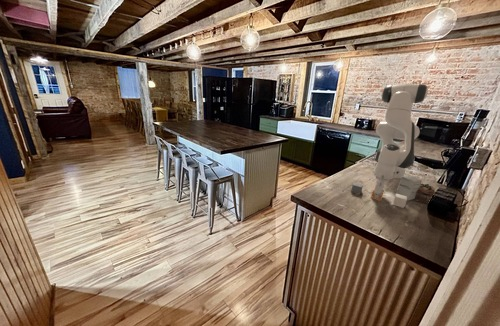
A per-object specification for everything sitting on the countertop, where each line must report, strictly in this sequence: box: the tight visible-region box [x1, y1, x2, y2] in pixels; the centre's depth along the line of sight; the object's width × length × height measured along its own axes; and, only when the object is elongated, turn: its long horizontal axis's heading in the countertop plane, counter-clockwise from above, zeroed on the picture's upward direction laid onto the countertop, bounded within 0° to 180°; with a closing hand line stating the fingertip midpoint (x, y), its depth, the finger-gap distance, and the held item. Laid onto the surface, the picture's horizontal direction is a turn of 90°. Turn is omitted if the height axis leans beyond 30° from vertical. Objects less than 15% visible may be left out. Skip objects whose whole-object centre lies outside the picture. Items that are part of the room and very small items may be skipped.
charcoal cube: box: [350, 181, 364, 196], centre depth 123 cm, size 5×5×5 cm
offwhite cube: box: [392, 193, 408, 209], centre depth 112 cm, size 5×5×5 cm
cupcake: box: [414, 183, 436, 204], centre depth 117 cm, size 10×10×10 cm
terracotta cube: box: [370, 186, 385, 202], centre depth 117 cm, size 5×5×5 cm
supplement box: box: [394, 174, 423, 201], centre depth 119 cm, size 7×7×13 cm
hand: (376, 195), depth 118 cm, fingers closed on terracotta cube, 5 cm apart
